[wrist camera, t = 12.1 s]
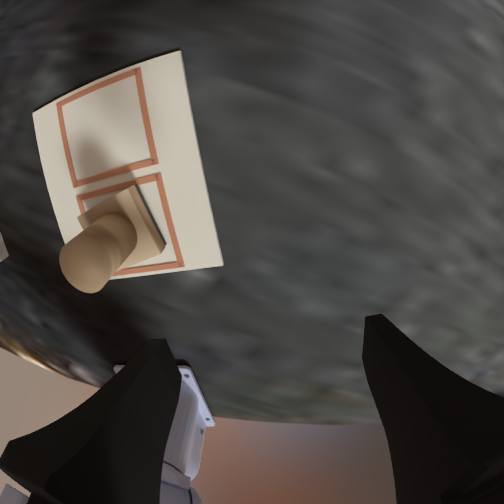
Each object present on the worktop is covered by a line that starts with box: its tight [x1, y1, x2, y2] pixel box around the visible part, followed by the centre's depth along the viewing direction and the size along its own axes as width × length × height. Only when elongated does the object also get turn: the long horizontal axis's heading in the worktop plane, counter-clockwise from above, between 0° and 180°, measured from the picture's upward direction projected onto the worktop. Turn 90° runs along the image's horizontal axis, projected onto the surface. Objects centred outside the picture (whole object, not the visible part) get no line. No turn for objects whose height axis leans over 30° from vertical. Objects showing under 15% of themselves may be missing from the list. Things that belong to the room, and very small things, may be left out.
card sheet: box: [33, 51, 224, 280], centre depth 18 cm, size 14×12×1 cm
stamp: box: [59, 184, 167, 293], centre depth 16 cm, size 4×4×6 cm
